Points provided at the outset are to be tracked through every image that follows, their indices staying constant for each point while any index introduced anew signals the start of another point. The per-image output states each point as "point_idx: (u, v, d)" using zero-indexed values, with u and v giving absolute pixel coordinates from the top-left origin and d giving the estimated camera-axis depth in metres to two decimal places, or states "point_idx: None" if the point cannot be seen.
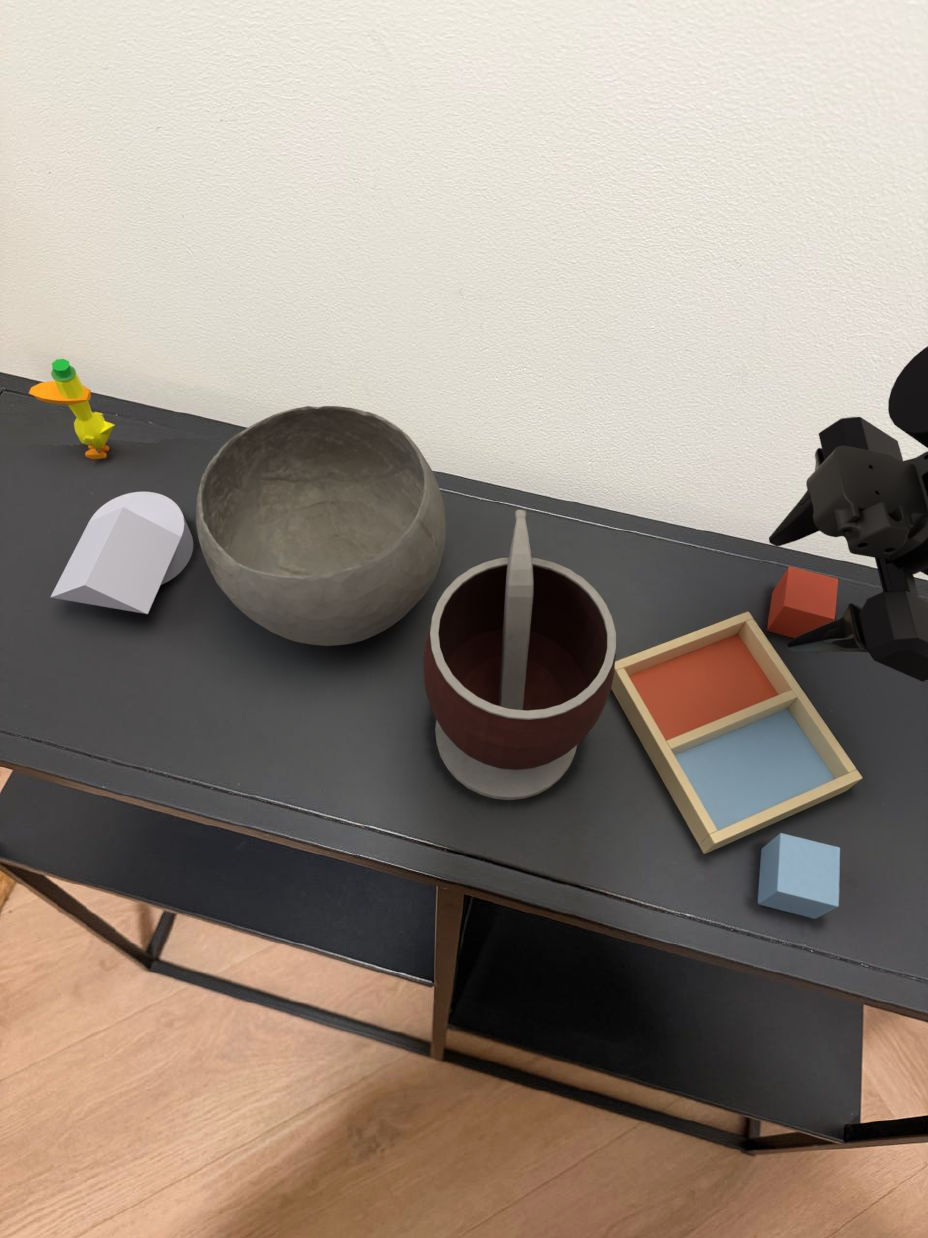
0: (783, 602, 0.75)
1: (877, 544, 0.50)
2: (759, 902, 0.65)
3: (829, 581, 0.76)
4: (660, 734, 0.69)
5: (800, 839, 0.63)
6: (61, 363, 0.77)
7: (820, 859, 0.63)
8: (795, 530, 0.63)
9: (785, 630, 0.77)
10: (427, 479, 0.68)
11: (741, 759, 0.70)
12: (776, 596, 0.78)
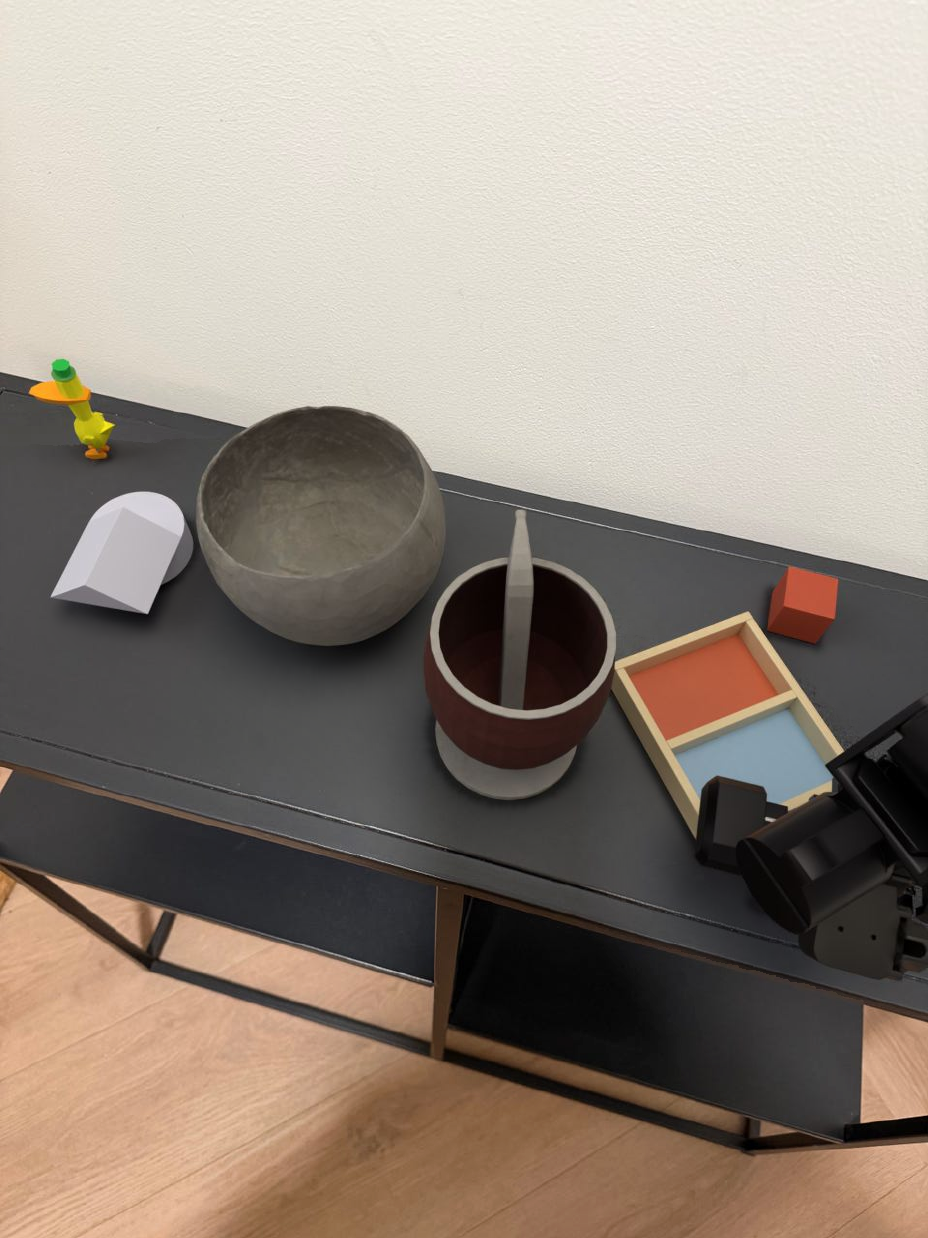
0: (783, 602, 0.75)
1: None
2: None
3: (829, 581, 0.76)
4: (660, 734, 0.69)
5: None
6: (61, 363, 0.77)
7: None
8: None
9: (785, 630, 0.77)
10: (427, 479, 0.68)
11: (741, 759, 0.70)
12: (776, 596, 0.78)
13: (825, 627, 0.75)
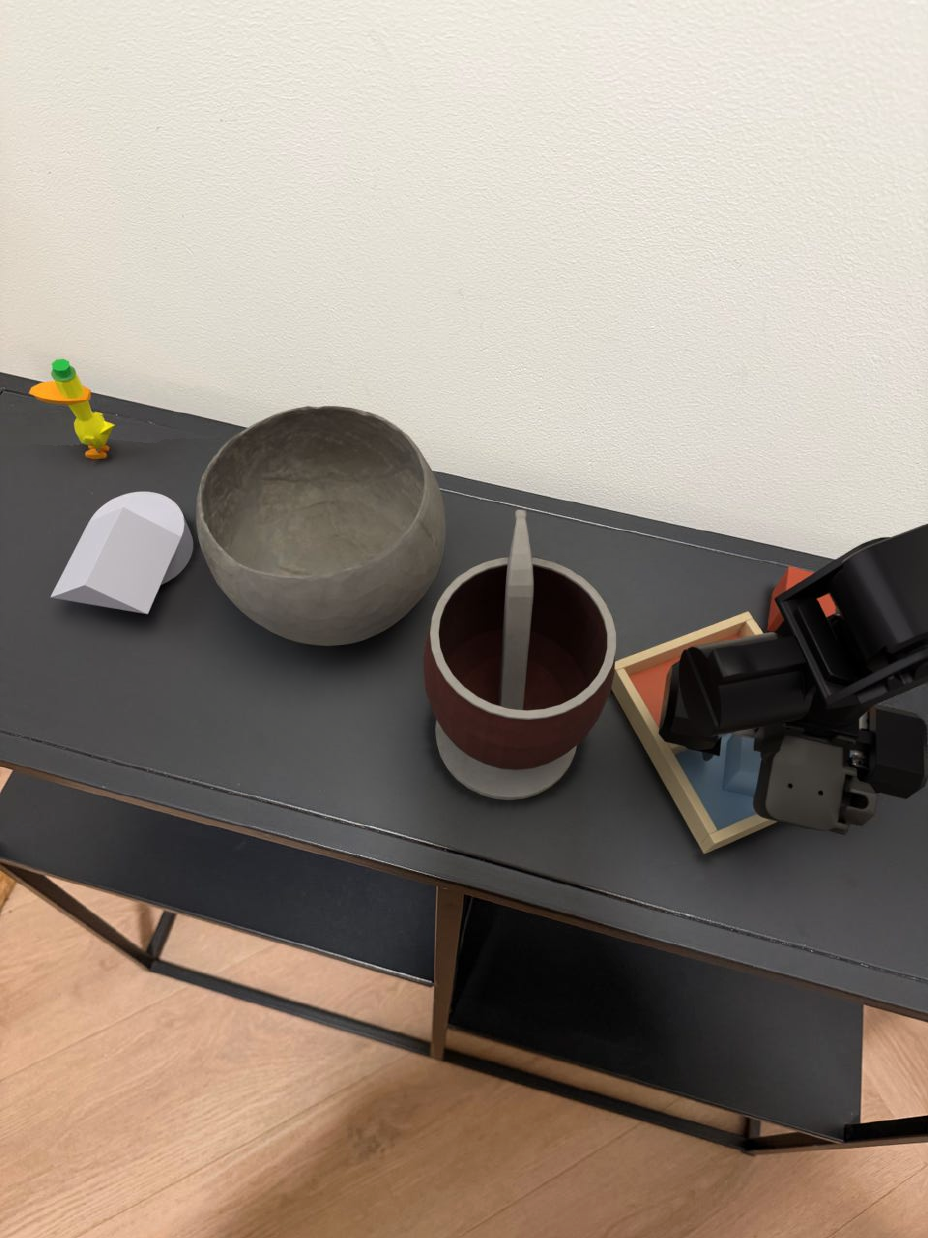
0: None
1: None
2: (724, 787, 0.69)
3: None
4: None
5: None
6: (61, 363, 0.77)
7: None
8: None
9: None
10: (427, 479, 0.68)
11: None
12: (776, 596, 0.78)
13: None
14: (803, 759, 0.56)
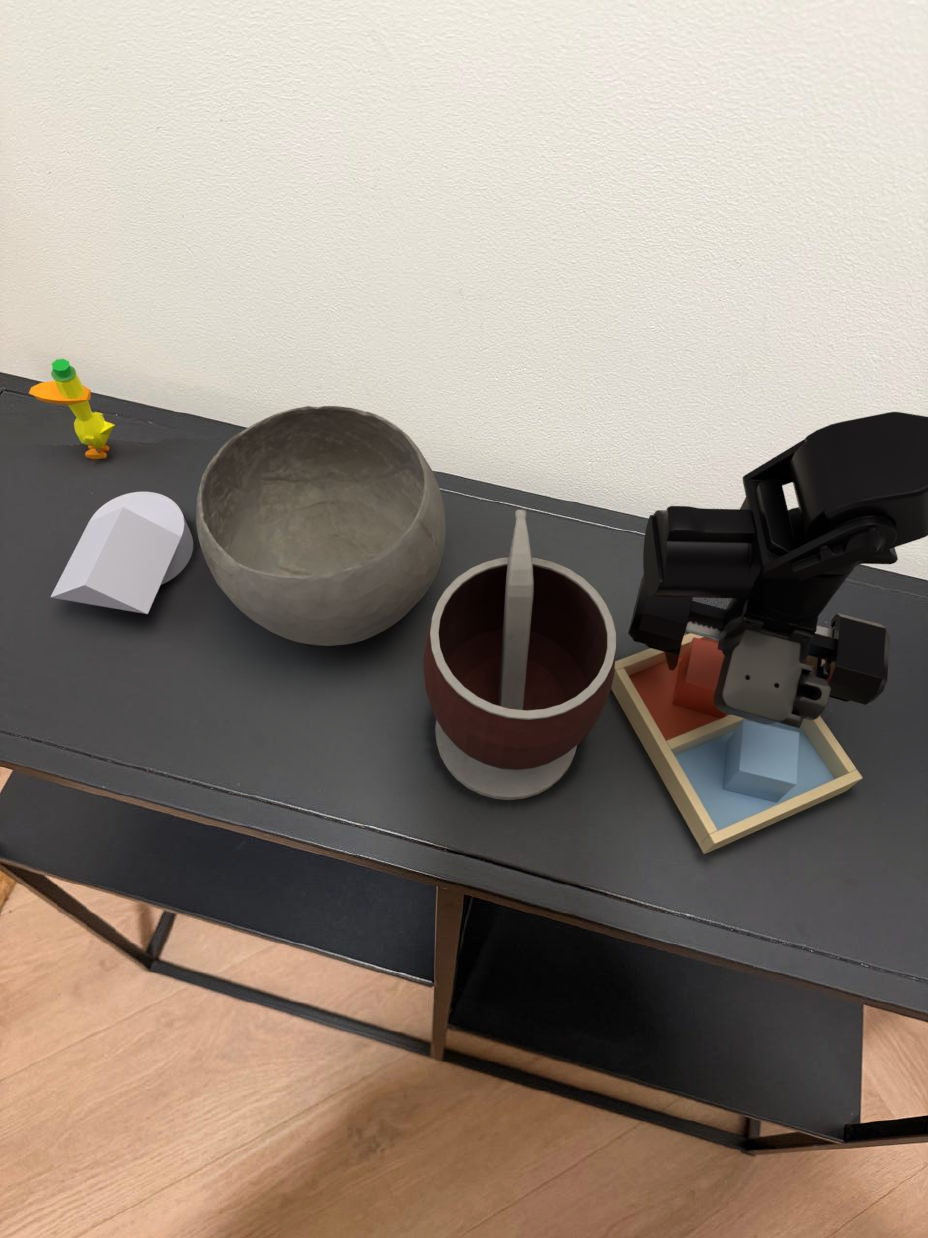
0: (685, 677, 0.70)
1: None
2: (724, 787, 0.69)
3: None
4: (660, 734, 0.69)
5: (762, 725, 0.67)
6: (61, 363, 0.77)
7: (780, 743, 0.67)
8: None
9: (690, 705, 0.72)
10: (427, 479, 0.68)
11: None
12: (682, 667, 0.73)
13: None
14: (762, 653, 0.58)
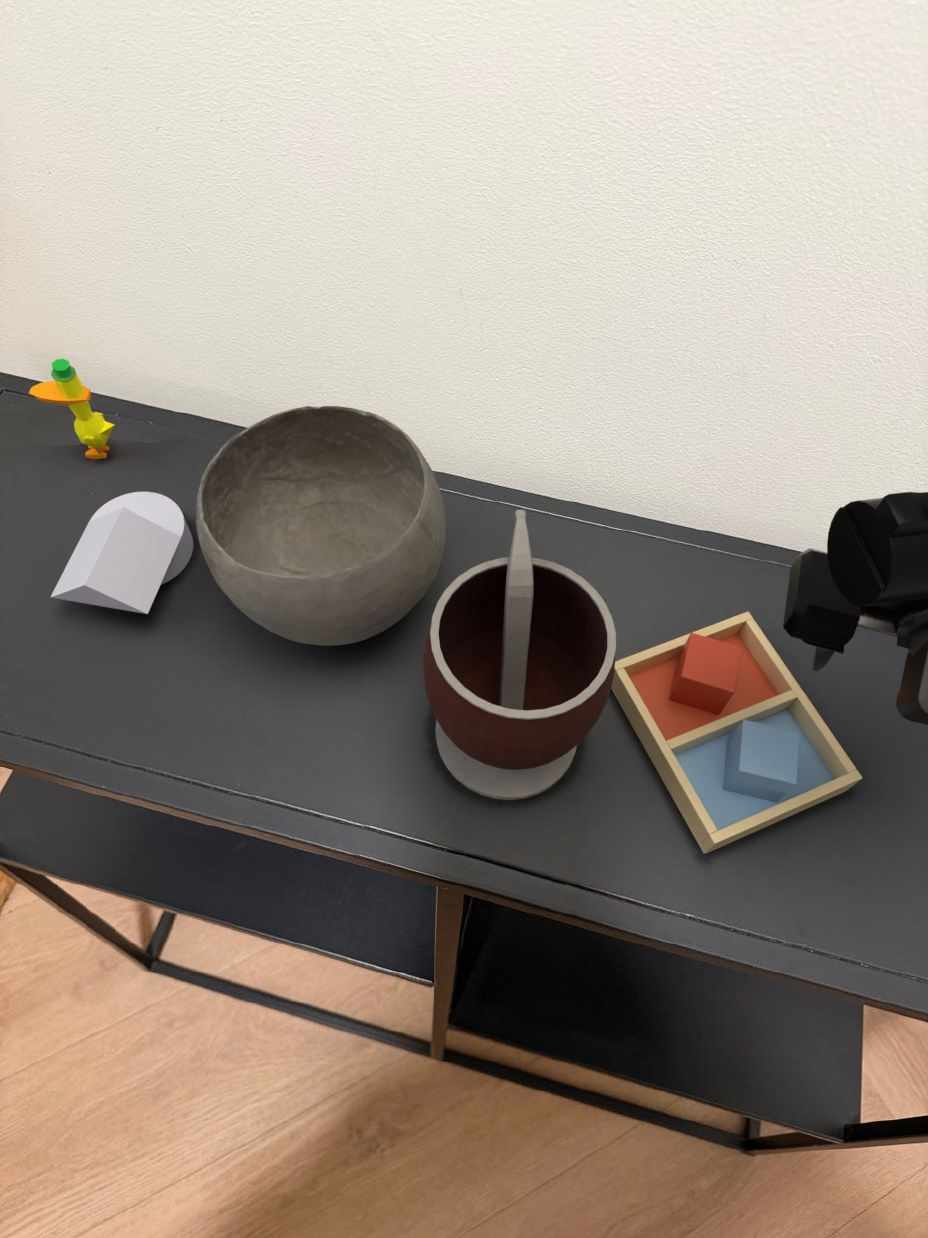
0: (681, 672, 0.70)
1: None
2: (724, 787, 0.69)
3: (733, 650, 0.71)
4: (660, 734, 0.69)
5: (762, 725, 0.67)
6: (61, 363, 0.77)
7: (780, 743, 0.67)
8: None
9: (686, 700, 0.72)
10: (427, 479, 0.68)
11: None
12: (679, 663, 0.73)
13: (726, 700, 0.70)
14: None
